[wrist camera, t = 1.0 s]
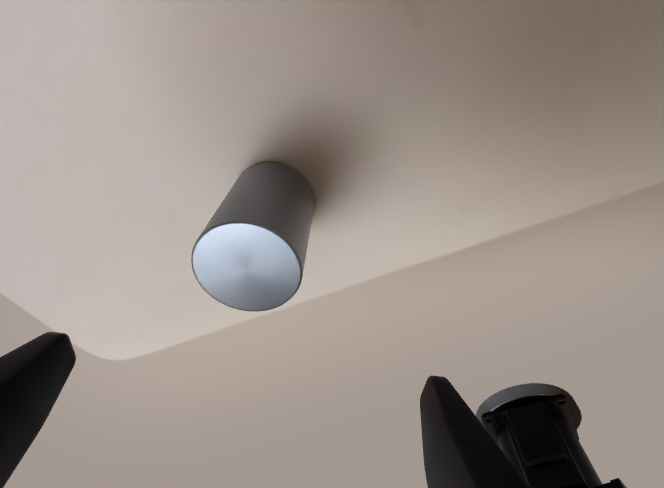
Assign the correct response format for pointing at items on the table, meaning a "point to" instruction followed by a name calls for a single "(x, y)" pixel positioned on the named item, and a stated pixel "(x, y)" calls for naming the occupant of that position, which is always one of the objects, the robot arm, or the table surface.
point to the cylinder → (257, 239)
